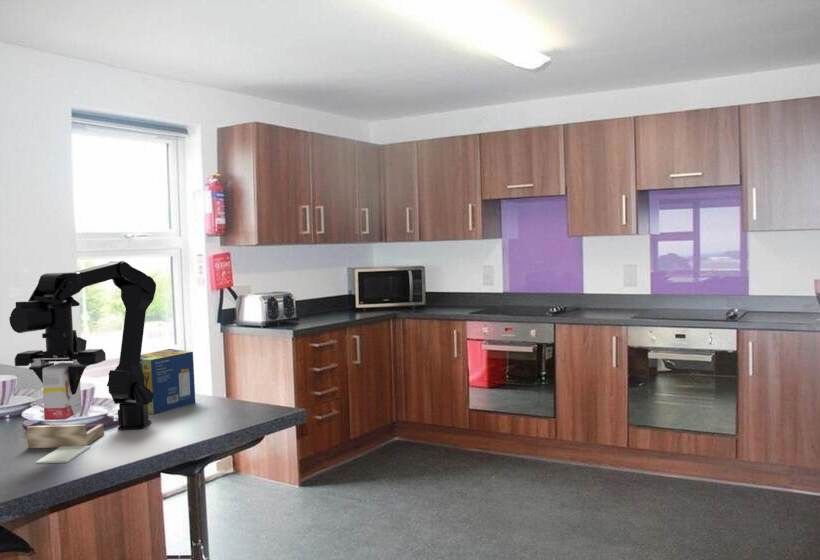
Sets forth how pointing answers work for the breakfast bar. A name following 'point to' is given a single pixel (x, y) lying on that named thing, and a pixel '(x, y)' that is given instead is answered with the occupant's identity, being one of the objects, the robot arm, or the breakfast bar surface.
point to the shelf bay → (62, 435)
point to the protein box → (169, 379)
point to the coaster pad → (63, 454)
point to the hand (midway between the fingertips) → (62, 394)
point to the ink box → (59, 393)
